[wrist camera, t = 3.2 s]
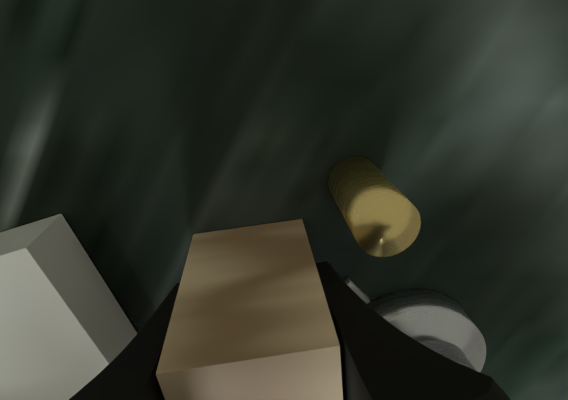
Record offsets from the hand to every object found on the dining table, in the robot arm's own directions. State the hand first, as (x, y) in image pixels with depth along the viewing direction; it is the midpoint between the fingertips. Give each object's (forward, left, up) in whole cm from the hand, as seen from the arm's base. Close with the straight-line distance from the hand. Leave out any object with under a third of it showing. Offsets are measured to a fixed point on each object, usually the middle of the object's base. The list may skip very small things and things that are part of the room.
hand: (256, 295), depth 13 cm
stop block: (0, 0, -1) cm, 1 cm away
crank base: (+5, -3, -1) cm, 6 cm away
